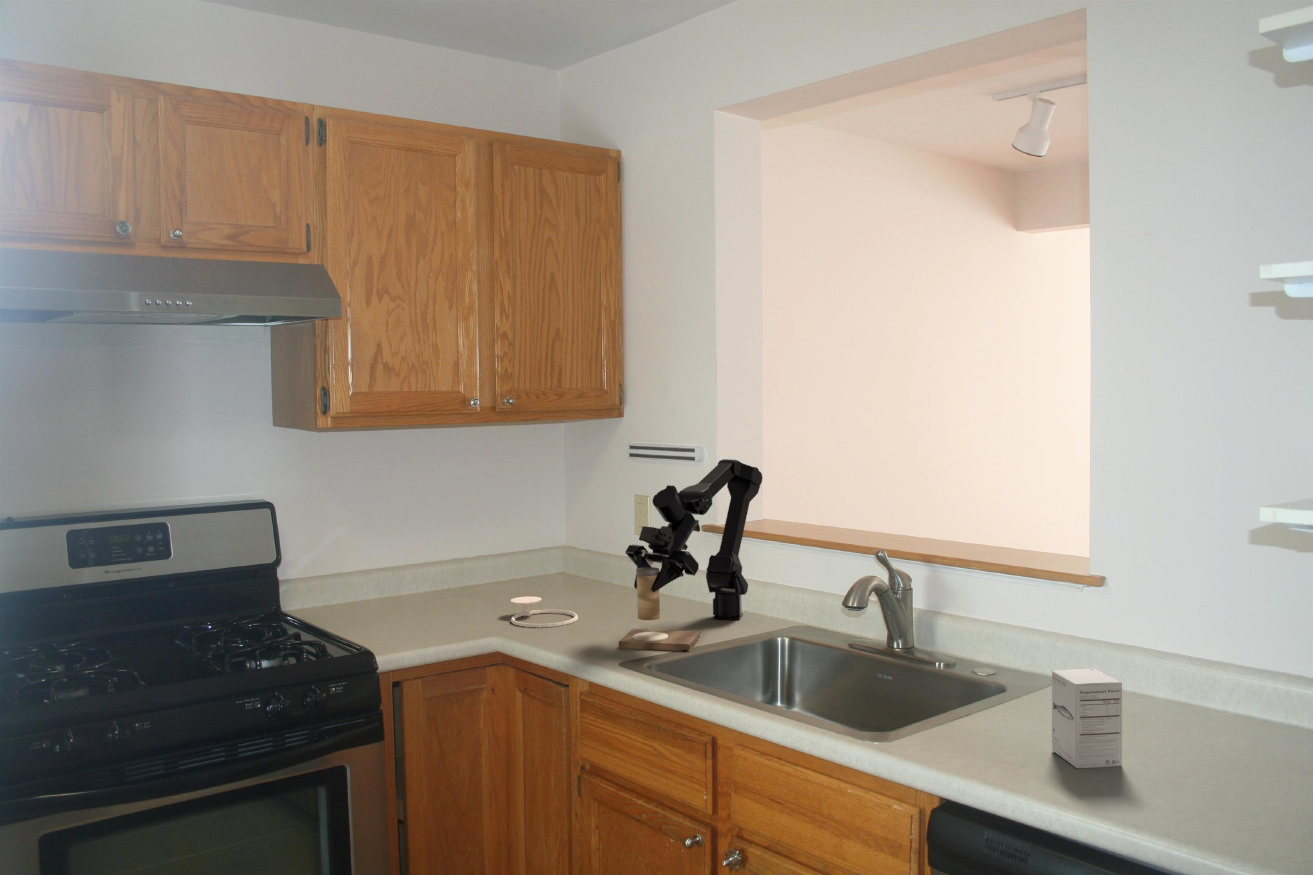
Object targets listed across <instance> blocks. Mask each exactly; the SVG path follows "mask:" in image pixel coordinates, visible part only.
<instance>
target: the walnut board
mask: <svg viewBox="0 0 1313 875" xmlns="http://www.w3.org/2000/svg"><path fill="white" fill-rule="evenodd" d="M699 638H700V639H701V631H700V630H676V629H675V630H674V629H673V630H672V629H671V630H669V629H646V628H644V629H643V628H631V630H630V631H629V632H628V633H626V634H625V635H624V636H623V637H622V638H621V639H619V641H618V649H629V650H630V649H631V650H635V649H636V650H656V651H657V650H659V651H661V650H662V651H677V650H690V649H691V648H692V647H693V648H694V646H695V645H696V644H697V643H698V641H699V640H700V639H699ZM698 639H699V640H698ZM696 642H697V643H696ZM693 648H692V649H693ZM692 649H691V650H692ZM691 650H690V651H691Z"/></svg>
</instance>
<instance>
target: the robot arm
mask: <svg viewBox="0 0 1313 875" xmlns="http://www.w3.org/2000/svg"><path fill="white" fill-rule="evenodd" d="M762 481H763V473H762V472H761V471H760V470H759V468H758V467H756V466H752V465H748V464H745V463H744V462H743V463H742V462H741V461H740V460H737V459H730V458H729V459H725V458H723V459H720V460H719V461H718V462H717V465H716V466H714V468H713V469H711V470H710V472H709V473H707V474H706V475H705V476H703V478H702V479H701V480H700V481H699V482H697V483H696V484H693V485H689V486H686V487H684V488H683V489H681V490H680V491H678V490H677V487H676V486H675V485H670V484H669V485H667V484H666V487H665V488H664V489H662V490H659V491H658V492H657V493H656V494H655V495H654V496H653V498H652V505H653V506H654V508H655V509H656V511H658V512H657V513H658V514H659V515H660V516H661V518H662V519H663V521H664V522H665V523H666V522H667V523H668V524H667V526H666V525H663V526H661V527H653V526H642V528H641V529H640V530H641V531H640V534H639V538H638V540H639V541H641V542H645V543H647V544H648V545H647V547H648V548H649V549H650V550H652V552H649V551H648V550H647V548H646V547H645V546H644V545H639V544H629V545H628V547H627V548H626V550H625V551H624V553H625V555H627V557H628V558H629V559H630V561H632V562H633V564H634V565H635V566H636V569H638V568H643V567H652V565H653V564H654V563H658V564H661V568H660V569H659V574H658V575H657V577H656V579H655V581H654V583H653V585H652V588H651V590H652V592H656V591H657V590H659V591H660V589H662V588H664V587H665V586H666V585H668V584H669V583H672V582H673V581H674V580H677V579H678V578H682V577H684V575H686V576H687V575H688V576H696V574H697V572H698V571H699V569H700V568H699V562H698V561H697V560H696V559H695V557H694V556H693V555H692V553H691V552H690V551H689V550H688V548H689V546H688V544H687V542H688V540H689V538H690V537H691V535H692V533H693V532H698V533H699V532H700V531H701V527H700V523H699V522H700V521H699V519H696V518H695V516H694V515H696V516H698V515H699V516H705V514H707V513H708V512H709V510H710V508H711V507H712V506H713V498H714V497H715V496H716V495H717V494H718V493H720V491H721V490H722V489H723V488H724V487H725V486H726V487H727V491H728V493H729V495H730V499H729V504H728V509H727V513H726V519H725V524H724V528H723V532H722V537H721V542H720V546H719V550H718V552H717V553H716V554H714V555H712V554H711V555H710V556H709V558H708V564H707V567H706V573H705V578H706V585H707V588H708V592H709V593H714V597H713V599H712V615H713V619H714V620H737V621H738V620H741V618H742V617H743V615H744V612H743V611H742V609H743V608H742V607H743V606H742V604H743V603H742V596H743V595H746V594H747V593H748V591H749V583H748V582H747V581H746V578H745V577H744V576H743V566H742V563H741V560H740V557H739V555H740V550H741V544H742V539H743V535H744V532H745V525H746V523H747V522H746V521H747V516H748V511H749V508H750V503H751V501H752V500H754V498H755V497H756V496H758V493H759V490H760V488H761V485H762V483H763V482H762ZM687 550H688V551H687ZM684 573H685V574H684ZM634 578H635V579H634V585H633V588H634V589H635V590H637V574H636V573H635V577H634Z"/></svg>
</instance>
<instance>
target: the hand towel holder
mask: <svg viewBox="0 0 1313 875" xmlns="http://www.w3.org/2000/svg"><path fill="white" fill-rule="evenodd" d="M541 601H543V600H542V597H539V596H520V597H519V596H518V597H514V598H511V599H510V602H511V603H512V605H513V604H514V605H517V606H523V612H518V613H516V614H515V615H513V616H512V617H511V619H510V622H512V623H513V624H512V623H511V624H512V625H514V624H515V625H514V626H516V625H520V626H519V627H521V626H525V627H524V628H529V627H536V628H537V627H538V628H537V629H542V628H541V627H543V629H545V627H548V628H556V627H562V625H563V626H568V625H571V624H573V623H575V622H577V621H578V619H579V616H578V614H577V613H576V612H574V611H570V610H565V609H552V608H551V609H547V608H546V609H536V610H535V609H534V610H530V606H531V605H535V604H539V603H541ZM540 613H548V614H553V615H554V614H556V615H557V614H558V615H565V616H571V617H572V618H571V619H568V620H563V621H558V622H551V623H527V622H526V623H525V622H520V621H517V619H519V618H518V617H520V616H523V617H530V616H531V615H530V614H534V615H541V614H540ZM529 615H530V616H529ZM516 618H517V619H516ZM520 618H521V617H520ZM536 628H535V629H536Z"/></svg>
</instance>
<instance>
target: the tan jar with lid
mask: <svg viewBox="0 0 1313 875" xmlns="http://www.w3.org/2000/svg"><path fill="white" fill-rule="evenodd" d="M659 572H660V568H659V567H654V566H653V567H652V566H651V567H643V568H638V569H637V568H636V569H635V575H636V574H637V589H636V598H637V600H636V601H637V603H636V604H637V606H636V608H637V619H638V620H641V621H654V620H656V621H657V620H658V619H661V610H660V609H661V608H660V607H661V606H660V604H661V603H660V601H661V600H660V589H659V590H657V591H656V592H652V590H651V588H652V585H653V583H654V581H655V579H656V577H657V575H658V574H659Z"/></svg>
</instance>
